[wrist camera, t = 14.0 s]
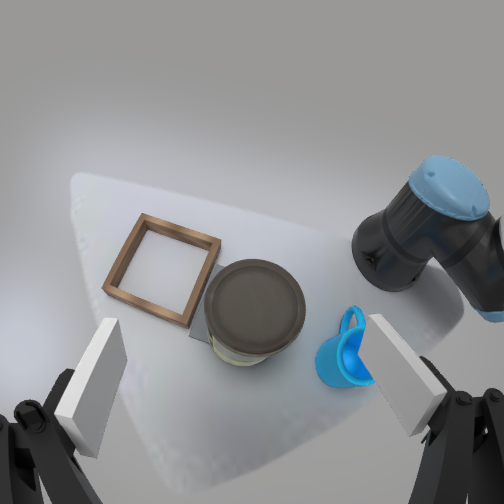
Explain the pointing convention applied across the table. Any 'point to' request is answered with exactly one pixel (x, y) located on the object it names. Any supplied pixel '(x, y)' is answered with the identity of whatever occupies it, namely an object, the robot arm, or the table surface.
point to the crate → (173, 232)
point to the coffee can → (252, 311)
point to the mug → (344, 355)
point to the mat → (202, 318)
